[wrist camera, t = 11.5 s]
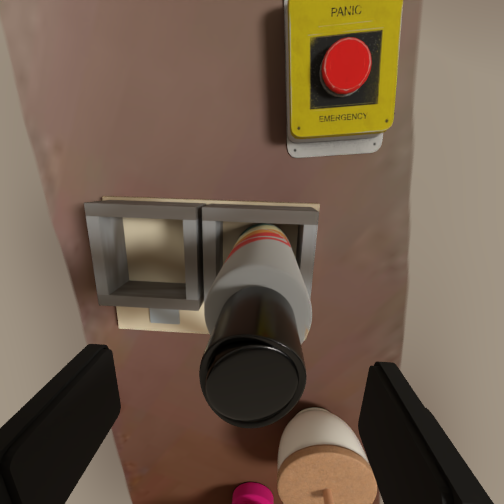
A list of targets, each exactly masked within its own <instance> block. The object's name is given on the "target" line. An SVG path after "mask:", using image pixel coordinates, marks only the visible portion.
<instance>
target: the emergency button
mask: <svg viewBox="0 0 504 504" xmlns="http://www.w3.org/2000/svg"><path fill="white" fill-rule="evenodd" d="M402 9H403V0H284V25H285V72H286V118H287V149H288V153H289V154H290V155H291V156H292V157H295V158H304V157H319V156H333V155H348V154H363V153H372V152H375V151H377V150H378V149H379V148H380V147H381V144H382V140H383V132H385V131H386V130H387V129H388V128H389V127H390V126H391V125H392V123H393V120H394V108H395V96H396V83H397V71H398V59H399V46H400V34H401V22H402Z"/></svg>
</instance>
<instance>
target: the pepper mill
mask: <svg viewBox="0 0 504 504" xmlns="http://www.w3.org/2000/svg"><path fill="white" fill-rule="evenodd" d="M232 504H273V495H272V493H271V491H270V490H269V489H268V488H267V487H266V486H264V485H262V484H260V483H255V482H247V483H243V484H241V485H239V486H238V487H237V488H236V489H235V490H234V492H233V499H232Z"/></svg>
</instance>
